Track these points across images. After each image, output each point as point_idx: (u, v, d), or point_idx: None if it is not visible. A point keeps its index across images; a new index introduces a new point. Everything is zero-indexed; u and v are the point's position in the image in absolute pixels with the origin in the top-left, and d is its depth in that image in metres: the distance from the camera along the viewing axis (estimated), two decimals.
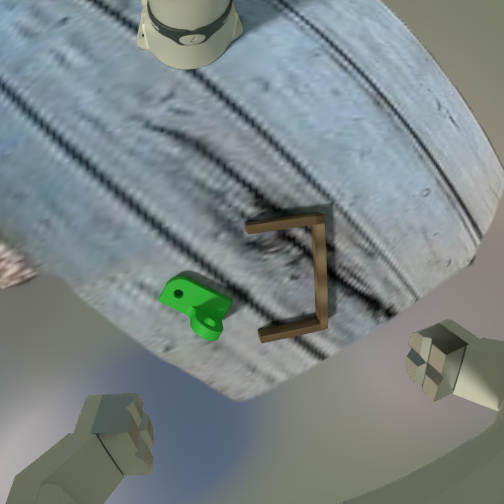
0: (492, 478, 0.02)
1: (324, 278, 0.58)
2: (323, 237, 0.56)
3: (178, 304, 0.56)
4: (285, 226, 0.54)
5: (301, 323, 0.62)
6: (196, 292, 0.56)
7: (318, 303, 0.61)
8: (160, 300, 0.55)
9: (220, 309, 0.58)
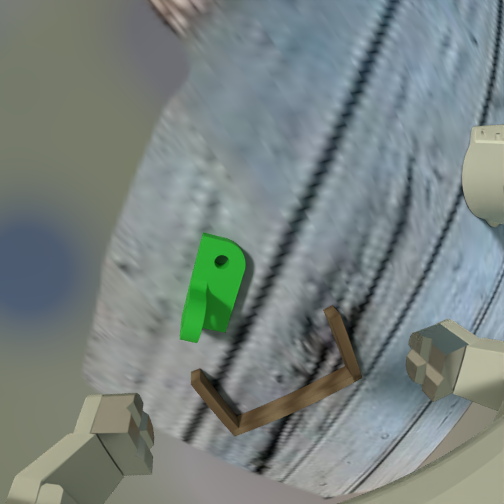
0: (492, 478, 0.02)
1: (295, 409, 0.46)
2: (339, 388, 0.46)
3: (205, 265, 0.38)
4: (345, 350, 0.44)
5: (227, 409, 0.46)
6: (229, 285, 0.39)
7: (259, 414, 0.47)
8: (205, 238, 0.37)
9: (211, 321, 0.41)
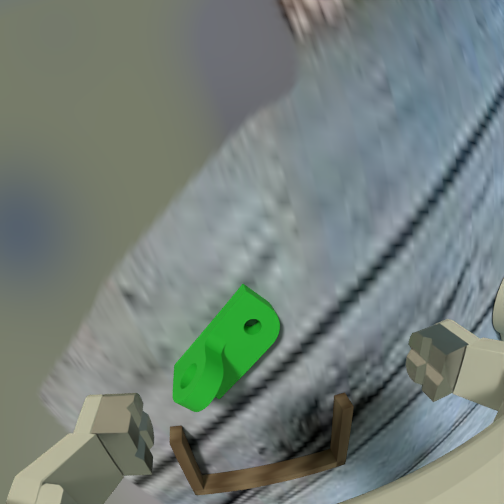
0: (492, 478, 0.02)
1: (269, 482, 0.37)
2: (320, 470, 0.38)
3: (232, 324, 0.30)
4: (342, 439, 0.37)
5: (197, 469, 0.36)
6: (249, 354, 0.31)
7: (229, 480, 0.37)
8: (246, 294, 0.30)
9: None
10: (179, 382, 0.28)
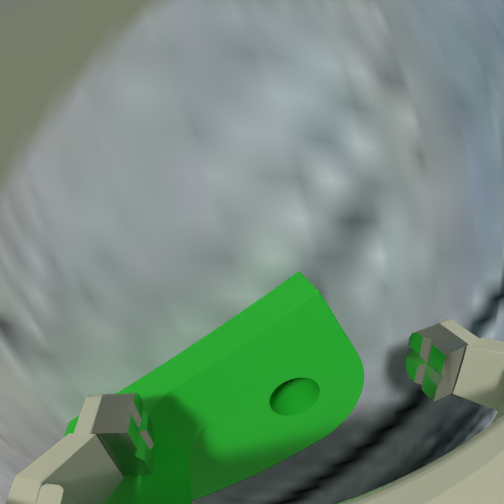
0: (492, 478, 0.02)
1: None
2: None
3: (242, 381, 0.09)
4: None
5: None
6: (258, 454, 0.11)
7: None
8: (316, 304, 0.09)
9: None
10: None
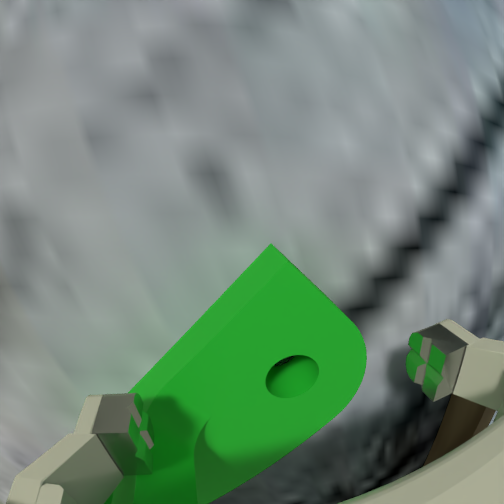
0: (492, 478, 0.02)
1: None
2: None
3: (231, 368, 0.09)
4: None
5: None
6: (271, 441, 0.10)
7: None
8: (288, 274, 0.09)
9: None
10: None
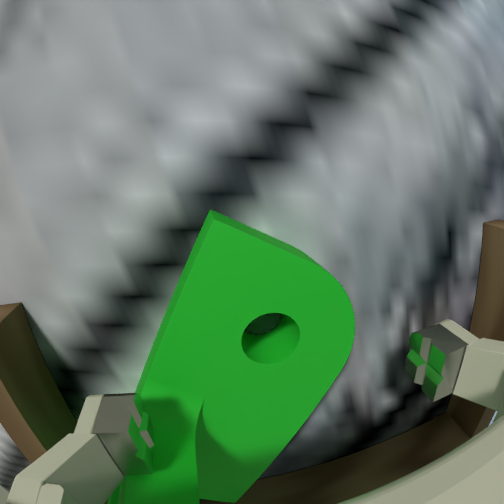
0: (493, 478, 0.02)
1: None
2: None
3: (201, 345, 0.09)
4: None
5: None
6: (280, 412, 0.10)
7: None
8: (220, 232, 0.08)
9: (201, 485, 0.11)
10: None
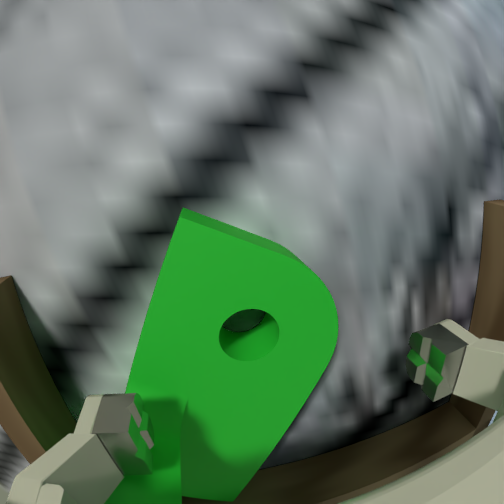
0: (492, 478, 0.02)
1: None
2: None
3: (179, 344, 0.09)
4: None
5: None
6: (267, 410, 0.10)
7: None
8: (187, 230, 0.08)
9: (196, 485, 0.11)
10: None
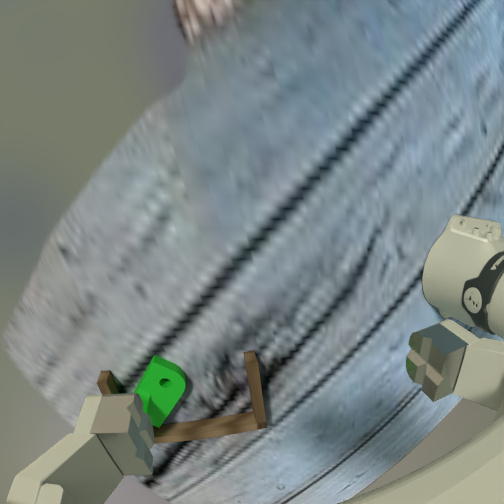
0: (493, 478, 0.02)
1: (192, 437, 0.43)
2: (241, 431, 0.44)
3: (151, 382, 0.40)
4: (255, 398, 0.43)
5: None
6: (169, 399, 0.42)
7: (157, 431, 0.43)
8: (154, 364, 0.40)
9: None
10: None
